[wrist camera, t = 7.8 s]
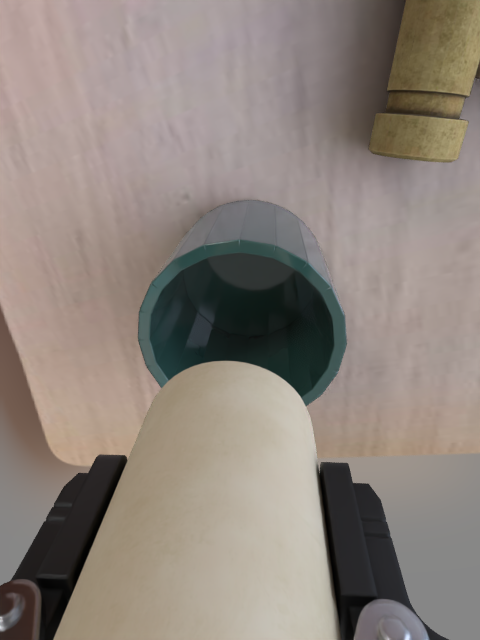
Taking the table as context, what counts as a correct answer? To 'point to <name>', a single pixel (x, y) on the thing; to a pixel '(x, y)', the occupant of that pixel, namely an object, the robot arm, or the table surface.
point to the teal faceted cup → (246, 300)
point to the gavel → (430, 81)
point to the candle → (213, 521)
